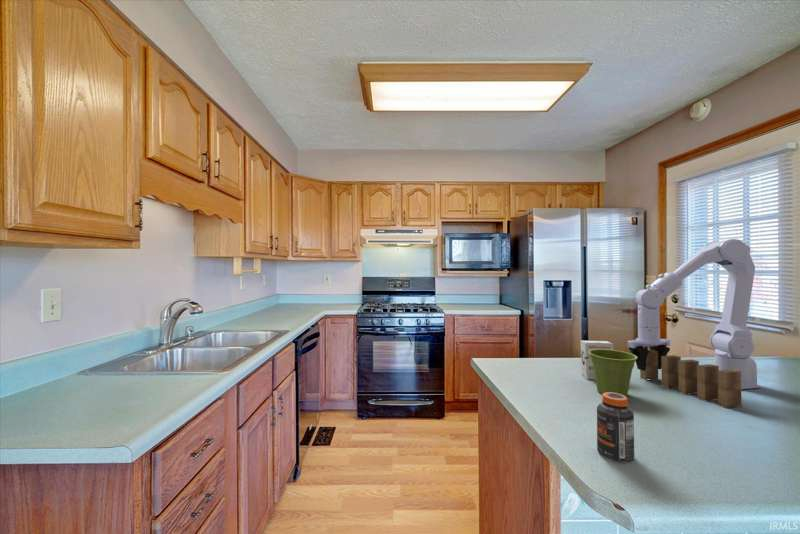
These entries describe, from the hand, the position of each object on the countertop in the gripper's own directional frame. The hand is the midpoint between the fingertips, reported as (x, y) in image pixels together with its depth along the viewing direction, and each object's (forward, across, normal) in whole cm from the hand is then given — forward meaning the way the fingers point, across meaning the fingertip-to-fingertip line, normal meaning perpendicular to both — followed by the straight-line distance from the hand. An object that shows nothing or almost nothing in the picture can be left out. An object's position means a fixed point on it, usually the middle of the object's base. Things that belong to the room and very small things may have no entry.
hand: (649, 369), depth 107 cm
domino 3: (+3, 0, +12) cm, 12 cm away
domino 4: (+3, 0, +17) cm, 17 cm away
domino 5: (+3, 0, +22) cm, 22 cm away
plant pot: (+3, +22, +8) cm, 24 cm away
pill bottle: (+3, +48, +35) cm, 60 cm away
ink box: (+3, +15, -5) cm, 16 cm away
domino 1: (+3, 0, 0) cm, 3 cm away
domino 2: (+3, 0, +7) cm, 8 cm away
